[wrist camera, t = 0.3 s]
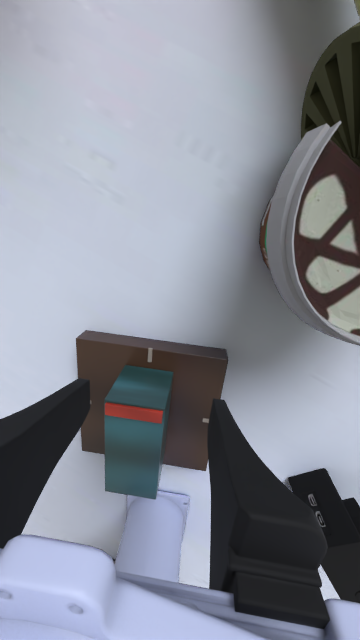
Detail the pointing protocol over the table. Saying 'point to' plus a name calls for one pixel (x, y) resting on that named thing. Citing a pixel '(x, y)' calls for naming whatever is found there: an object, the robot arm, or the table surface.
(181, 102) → the table surface
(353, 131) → the cannon
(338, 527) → the digital camera
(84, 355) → the clock
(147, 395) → the teal block red stripe
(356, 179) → the food container
